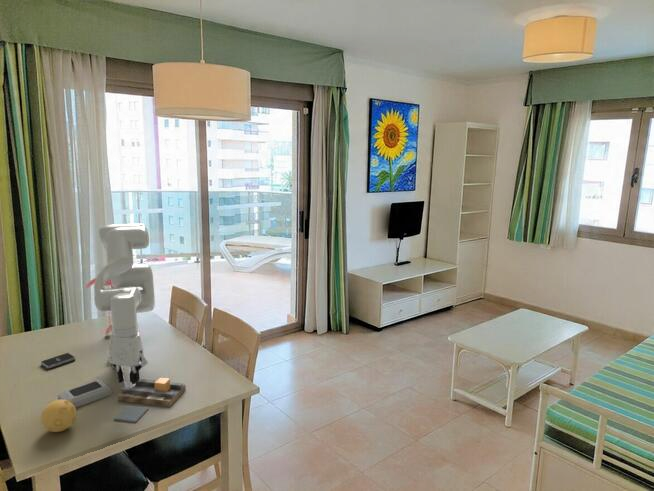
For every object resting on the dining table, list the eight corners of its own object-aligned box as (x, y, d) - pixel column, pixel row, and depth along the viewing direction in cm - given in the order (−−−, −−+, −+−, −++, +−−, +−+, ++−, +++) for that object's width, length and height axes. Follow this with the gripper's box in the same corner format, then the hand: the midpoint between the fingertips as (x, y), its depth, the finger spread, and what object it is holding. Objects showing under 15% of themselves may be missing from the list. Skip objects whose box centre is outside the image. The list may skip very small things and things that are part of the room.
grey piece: (118, 400, 163) (117, 391, 162) (137, 384, 174) (136, 375, 173) (170, 406, 160) (169, 397, 159) (185, 389, 171) (185, 380, 171)
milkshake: (123, 383, 154) (119, 355, 152) (139, 381, 154) (136, 354, 152) (118, 389, 150) (114, 361, 148) (135, 388, 150) (131, 360, 148)
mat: (113, 420, 151) (113, 418, 151) (127, 406, 159) (127, 405, 159) (135, 422, 150) (135, 421, 150) (148, 409, 158) (148, 407, 158)
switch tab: (155, 392, 164) (154, 382, 163) (160, 387, 168) (159, 377, 167) (165, 393, 164) (164, 383, 163) (170, 388, 167) (169, 378, 167)
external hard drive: (40, 366, 187) (40, 361, 187) (68, 356, 196) (68, 352, 195) (48, 371, 183) (47, 366, 183) (76, 361, 192) (75, 357, 191)
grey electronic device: (57, 391, 161) (100, 377, 172) (58, 401, 162) (101, 385, 173) (66, 402, 155) (111, 386, 166) (67, 411, 156) (111, 395, 167)
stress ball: (38, 437, 143) (42, 431, 136) (39, 406, 147) (42, 398, 140) (74, 431, 149) (79, 424, 142) (73, 401, 153) (78, 393, 146)
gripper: (94, 333, 145) (99, 384, 149) (142, 337, 143) (146, 389, 147) (108, 324, 153) (113, 373, 157) (154, 328, 150) (157, 378, 154)
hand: (129, 380), depth 152 cm, fingers closed on milkshake, 4 cm apart
